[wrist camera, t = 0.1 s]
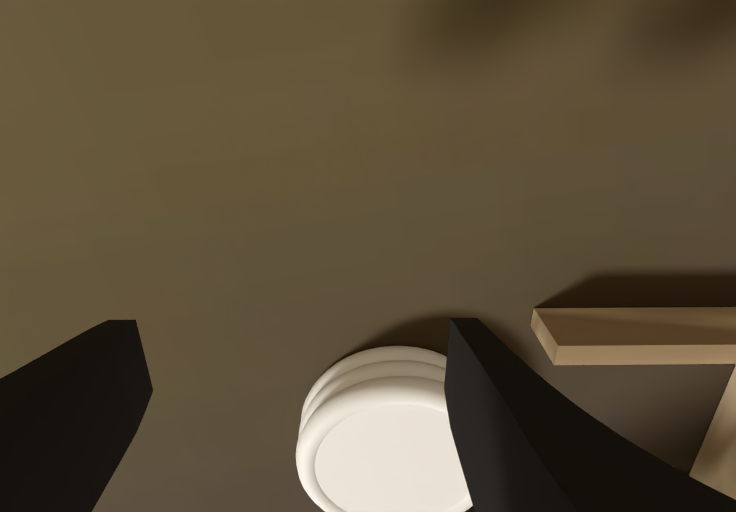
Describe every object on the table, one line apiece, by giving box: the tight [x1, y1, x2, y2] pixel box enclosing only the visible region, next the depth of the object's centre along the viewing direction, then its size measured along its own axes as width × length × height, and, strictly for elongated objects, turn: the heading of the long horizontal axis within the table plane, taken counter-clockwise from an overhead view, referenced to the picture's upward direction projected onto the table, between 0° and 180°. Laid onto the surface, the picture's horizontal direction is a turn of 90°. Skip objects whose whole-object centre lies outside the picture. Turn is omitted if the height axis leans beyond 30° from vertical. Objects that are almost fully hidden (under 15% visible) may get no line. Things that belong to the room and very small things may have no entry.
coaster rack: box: [531, 307, 736, 500], centre depth 24 cm, size 14×12×3 cm
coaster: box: [296, 346, 473, 512], centre depth 24 cm, size 10×10×4 cm
